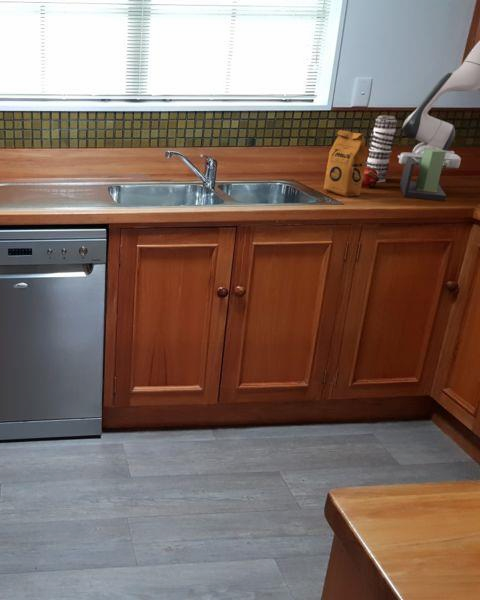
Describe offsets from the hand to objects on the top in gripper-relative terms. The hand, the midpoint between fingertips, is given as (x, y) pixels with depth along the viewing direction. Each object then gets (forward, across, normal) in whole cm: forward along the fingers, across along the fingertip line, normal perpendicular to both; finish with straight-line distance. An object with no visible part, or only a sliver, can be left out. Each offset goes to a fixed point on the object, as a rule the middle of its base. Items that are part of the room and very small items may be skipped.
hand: (431, 163), depth 222 cm
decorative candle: (-17, -16, +11) cm, 26 cm away
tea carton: (+4, 0, +9) cm, 9 cm away
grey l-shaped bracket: (+1, -1, +11) cm, 11 cm away
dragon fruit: (-2, -21, +11) cm, 23 cm away
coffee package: (+16, -29, +11) cm, 34 cm away
